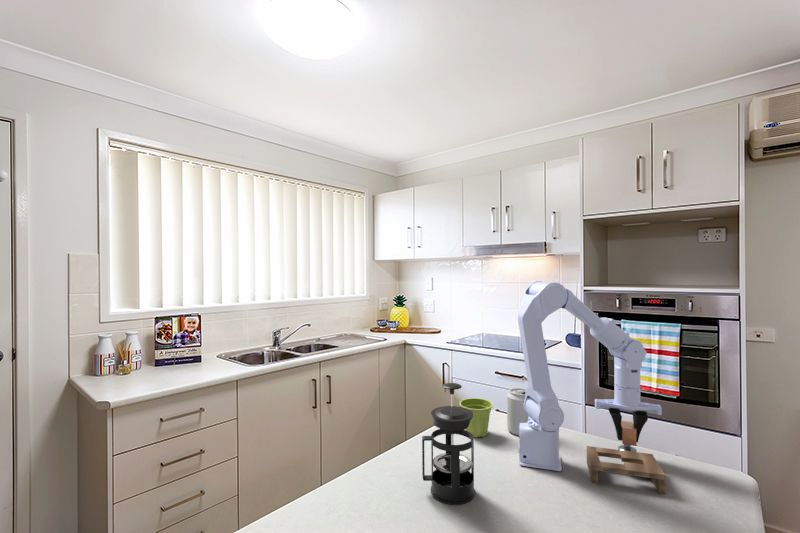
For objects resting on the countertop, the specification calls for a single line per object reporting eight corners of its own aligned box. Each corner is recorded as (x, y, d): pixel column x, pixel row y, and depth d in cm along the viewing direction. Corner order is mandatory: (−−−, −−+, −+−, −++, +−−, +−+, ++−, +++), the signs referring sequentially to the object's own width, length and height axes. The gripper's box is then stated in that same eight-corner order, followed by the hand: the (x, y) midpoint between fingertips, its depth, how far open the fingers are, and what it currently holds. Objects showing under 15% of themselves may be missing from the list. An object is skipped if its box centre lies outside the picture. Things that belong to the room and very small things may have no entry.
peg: (620, 456, 100) (620, 427, 100) (616, 448, 104) (616, 420, 104) (638, 459, 98) (638, 429, 98) (634, 450, 103) (634, 422, 103)
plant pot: (485, 443, 110) (485, 411, 110) (454, 435, 115) (454, 405, 115) (497, 431, 118) (497, 401, 118) (467, 424, 123) (467, 396, 123)
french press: (473, 480, 91) (472, 377, 91) (482, 504, 82) (481, 390, 82) (421, 480, 91) (420, 378, 91) (424, 505, 82) (423, 391, 82)
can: (535, 438, 113) (535, 395, 113) (507, 436, 114) (507, 393, 114) (532, 427, 120) (532, 387, 120) (506, 425, 122) (506, 385, 122)
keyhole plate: (591, 483, 89) (591, 465, 89) (586, 462, 99) (586, 445, 99) (665, 494, 85) (665, 475, 85) (652, 471, 94) (652, 454, 94)
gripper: (656, 383, 103) (656, 437, 103) (593, 378, 108) (593, 429, 108) (664, 391, 96) (664, 449, 96) (596, 386, 101) (597, 440, 101)
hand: (627, 439), depth 101 cm, fingers closed on peg, 3 cm apart
